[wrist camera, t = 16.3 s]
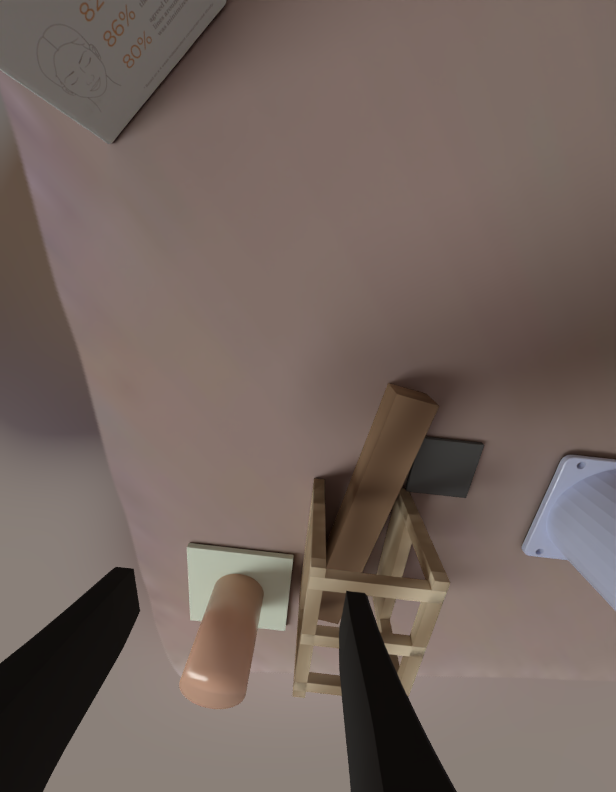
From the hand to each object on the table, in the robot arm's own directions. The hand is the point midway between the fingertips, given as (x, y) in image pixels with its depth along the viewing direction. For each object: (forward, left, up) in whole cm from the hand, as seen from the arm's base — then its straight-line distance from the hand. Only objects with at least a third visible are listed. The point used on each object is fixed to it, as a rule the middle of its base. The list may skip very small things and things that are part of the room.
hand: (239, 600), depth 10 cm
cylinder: (+2, +13, -10) cm, 16 cm away
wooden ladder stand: (-6, +7, -10) cm, 13 cm away
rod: (-6, +4, -10) cm, 12 cm away
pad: (+2, +13, -10) cm, 16 cm away
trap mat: (-11, 0, -10) cm, 15 cm away
